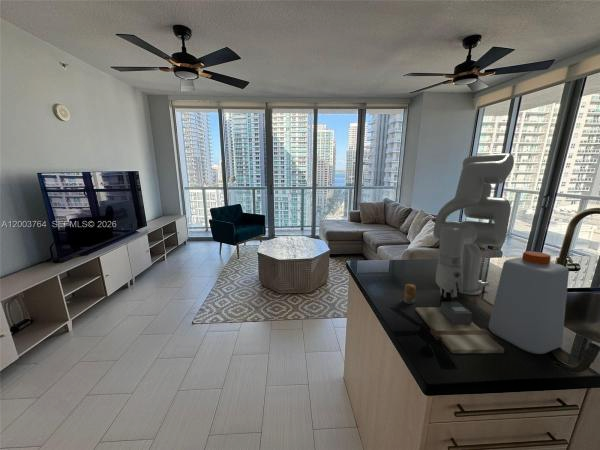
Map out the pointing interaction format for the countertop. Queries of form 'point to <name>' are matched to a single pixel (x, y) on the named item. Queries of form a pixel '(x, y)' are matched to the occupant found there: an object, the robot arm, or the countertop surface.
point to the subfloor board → (458, 333)
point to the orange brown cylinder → (409, 293)
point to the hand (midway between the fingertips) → (445, 305)
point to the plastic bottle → (531, 303)
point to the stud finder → (456, 312)
